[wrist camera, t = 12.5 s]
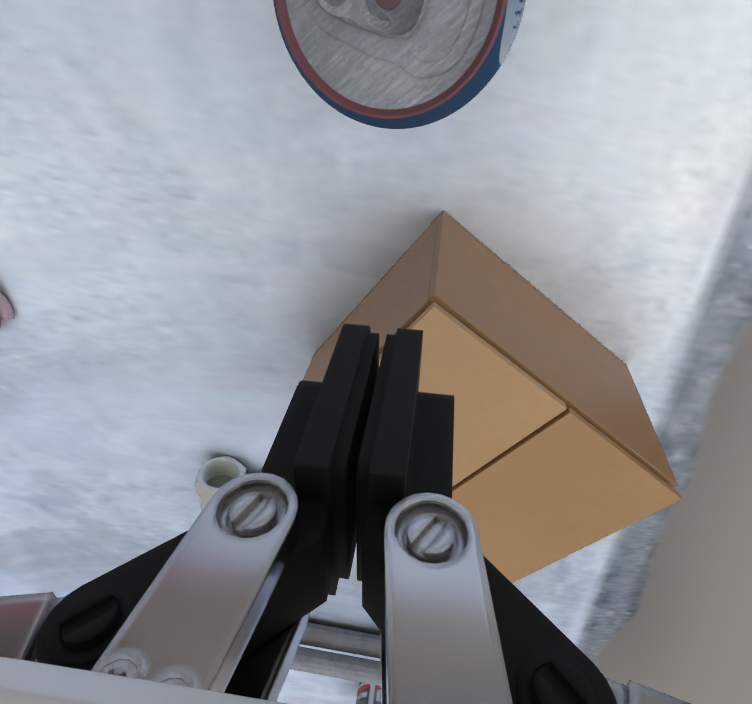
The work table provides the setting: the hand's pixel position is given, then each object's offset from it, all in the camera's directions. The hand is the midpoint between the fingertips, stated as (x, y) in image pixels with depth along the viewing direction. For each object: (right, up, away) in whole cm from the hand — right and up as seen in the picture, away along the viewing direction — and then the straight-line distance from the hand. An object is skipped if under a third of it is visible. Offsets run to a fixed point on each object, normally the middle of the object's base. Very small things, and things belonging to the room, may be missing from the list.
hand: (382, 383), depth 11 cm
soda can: (+2, +16, +11) cm, 20 cm away
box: (+5, 0, +22) cm, 22 cm away
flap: (+1, -3, +13) cm, 13 cm away
